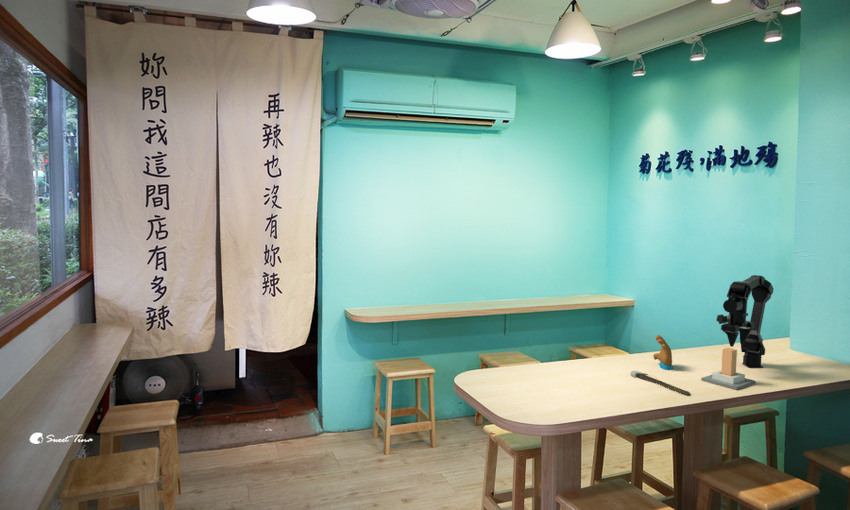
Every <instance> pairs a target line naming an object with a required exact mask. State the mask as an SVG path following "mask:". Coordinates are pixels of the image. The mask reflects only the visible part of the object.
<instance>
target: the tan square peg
mask: <svg viewBox="0 0 850 510" xmlns="http://www.w3.org/2000/svg"><path fill="white" fill-rule="evenodd" d="M721 351H722V353H721V355H722V356H721V370H722V372H721V374H724V375H727V376H731V377H732V376H735V375H736V372H737V358H738V350H737V349H736V348H730V347H725V348H722V350H721Z"/></svg>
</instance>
